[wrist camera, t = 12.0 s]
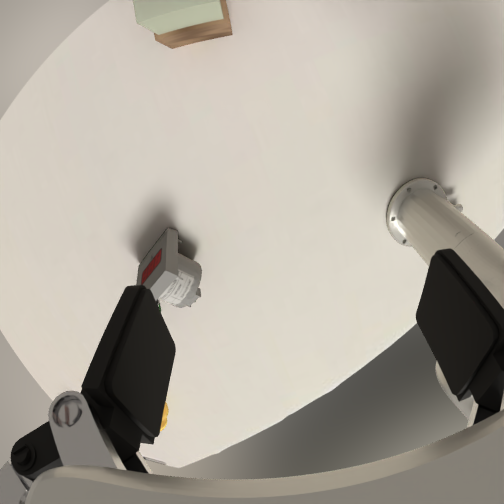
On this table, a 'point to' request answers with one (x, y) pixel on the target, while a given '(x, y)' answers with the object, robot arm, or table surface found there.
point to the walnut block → (198, 31)
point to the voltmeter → (170, 272)
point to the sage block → (175, 13)
